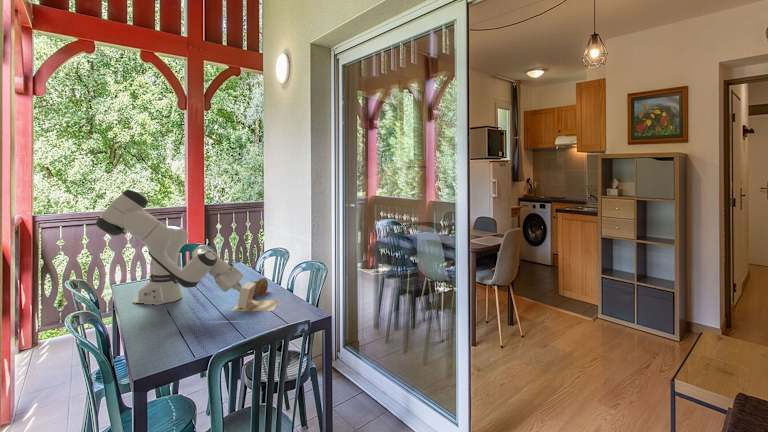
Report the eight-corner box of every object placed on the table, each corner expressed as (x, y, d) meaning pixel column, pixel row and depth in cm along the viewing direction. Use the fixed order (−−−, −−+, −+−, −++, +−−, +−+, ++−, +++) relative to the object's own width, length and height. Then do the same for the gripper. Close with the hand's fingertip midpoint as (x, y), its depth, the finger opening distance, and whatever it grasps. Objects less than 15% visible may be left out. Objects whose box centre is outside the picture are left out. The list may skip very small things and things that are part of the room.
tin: (254, 299, 198) (253, 284, 197) (248, 299, 199) (248, 283, 198) (268, 291, 213) (268, 276, 212) (263, 290, 213) (262, 276, 212)
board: (230, 312, 179) (230, 311, 179) (241, 301, 194) (241, 300, 194) (272, 311, 180) (272, 310, 180) (280, 301, 195) (280, 300, 195)
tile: (237, 306, 182) (241, 287, 181) (243, 300, 192) (247, 281, 191) (245, 308, 183) (250, 289, 182) (252, 301, 193) (256, 283, 192)
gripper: (217, 272, 174) (239, 292, 176) (233, 262, 195) (252, 280, 196) (207, 281, 175) (229, 302, 176) (224, 270, 195) (244, 289, 196)
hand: (242, 290), depth 186 cm, fingers closed
